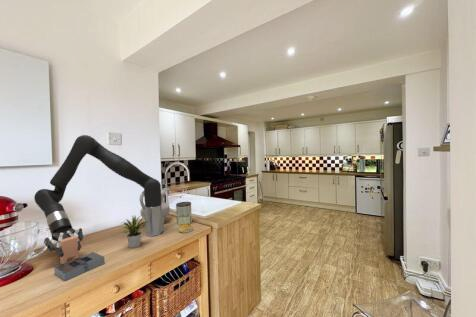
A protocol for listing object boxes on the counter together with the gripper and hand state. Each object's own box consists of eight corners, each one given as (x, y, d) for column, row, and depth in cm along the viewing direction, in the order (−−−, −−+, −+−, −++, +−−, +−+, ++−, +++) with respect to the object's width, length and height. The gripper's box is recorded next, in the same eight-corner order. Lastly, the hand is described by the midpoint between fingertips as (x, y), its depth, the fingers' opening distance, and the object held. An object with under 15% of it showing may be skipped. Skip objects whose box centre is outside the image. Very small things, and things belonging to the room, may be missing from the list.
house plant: (133, 255, 95) (132, 221, 94) (111, 251, 99) (110, 219, 99) (154, 242, 108) (153, 212, 108) (134, 240, 112) (132, 211, 112)
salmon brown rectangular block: (75, 258, 93) (74, 235, 93) (78, 260, 91) (77, 237, 91) (60, 264, 88) (59, 240, 88) (63, 266, 86) (62, 241, 86)
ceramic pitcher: (156, 230, 129) (158, 192, 128) (130, 227, 132) (132, 190, 132) (174, 220, 150) (175, 187, 149) (151, 217, 154) (152, 185, 153)
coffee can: (174, 223, 139) (173, 203, 139) (188, 219, 146) (187, 200, 146) (180, 226, 131) (179, 205, 131) (194, 223, 138) (193, 203, 138)
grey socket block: (93, 258, 93) (93, 251, 93) (104, 263, 88) (104, 256, 88) (54, 274, 81) (54, 266, 81) (64, 281, 76) (64, 273, 76)
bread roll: (185, 227, 130) (185, 221, 130) (195, 230, 125) (194, 223, 125) (175, 232, 123) (174, 225, 123) (185, 234, 118) (184, 227, 118)
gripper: (40, 222, 87) (51, 255, 81) (79, 213, 100) (91, 242, 94) (36, 232, 90) (47, 265, 84) (75, 222, 102) (86, 250, 96)
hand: (70, 252), depth 89 cm, fingers closed on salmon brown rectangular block, 5 cm apart
